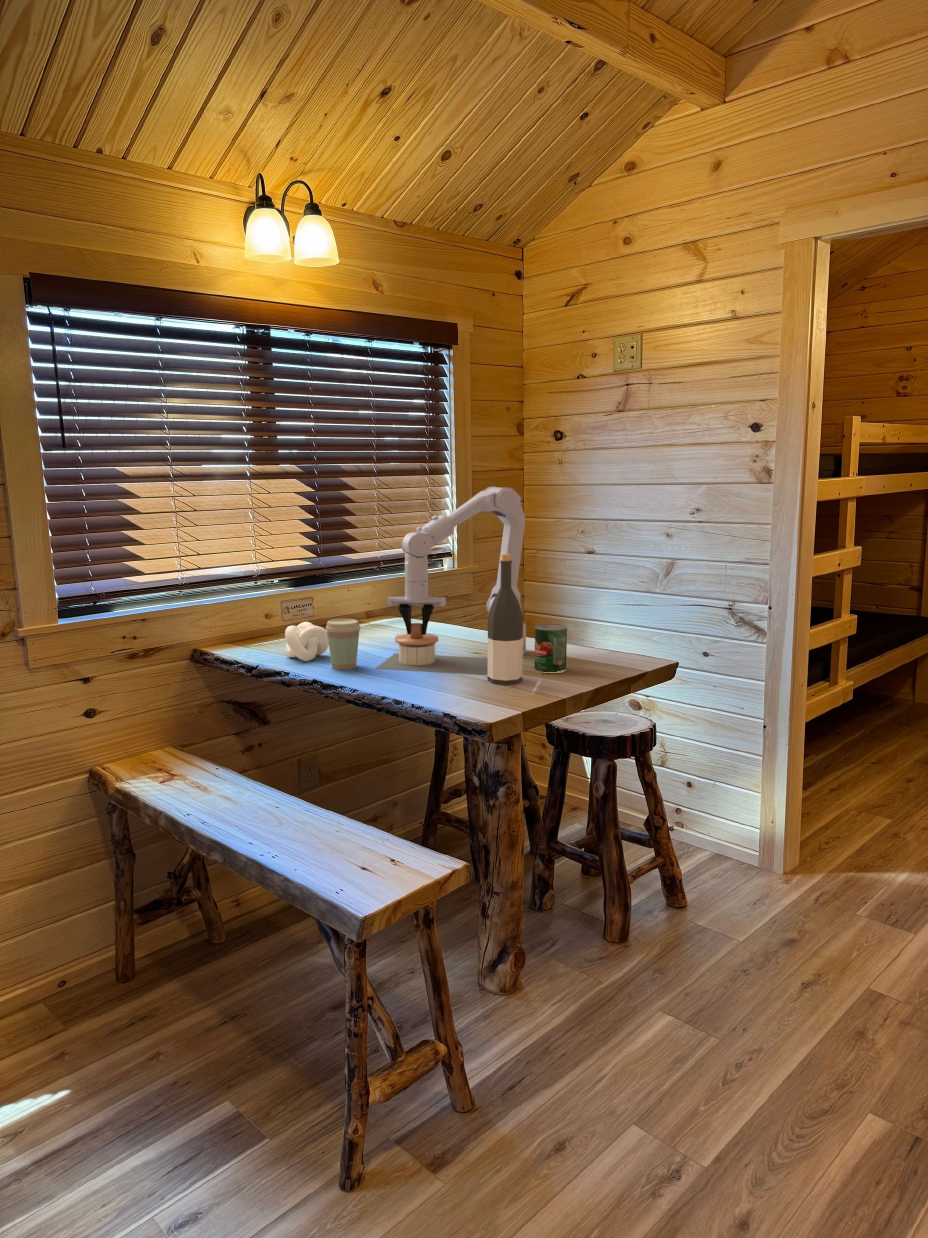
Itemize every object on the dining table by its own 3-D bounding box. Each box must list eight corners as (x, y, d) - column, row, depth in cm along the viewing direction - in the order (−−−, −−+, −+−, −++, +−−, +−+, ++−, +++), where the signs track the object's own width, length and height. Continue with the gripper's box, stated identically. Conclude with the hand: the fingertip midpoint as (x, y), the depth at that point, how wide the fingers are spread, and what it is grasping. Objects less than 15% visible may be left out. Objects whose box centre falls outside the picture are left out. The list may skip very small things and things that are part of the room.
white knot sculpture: (313, 665, 211) (312, 630, 210) (272, 661, 215) (270, 627, 213) (334, 655, 222) (333, 622, 220) (294, 652, 226) (293, 619, 224)
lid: (447, 639, 214) (447, 623, 213) (419, 647, 205) (419, 630, 204) (414, 634, 220) (414, 618, 220) (385, 641, 212) (385, 624, 211)
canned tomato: (571, 668, 208) (572, 625, 206) (558, 675, 202) (559, 630, 200) (542, 664, 212) (543, 622, 210) (528, 671, 206) (529, 627, 204)
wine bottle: (480, 682, 196) (480, 554, 190) (503, 676, 201) (505, 551, 195) (505, 689, 190) (507, 557, 184) (529, 682, 195) (531, 554, 190)
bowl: (438, 657, 217) (438, 640, 217) (429, 666, 209) (429, 648, 208) (405, 656, 219) (404, 639, 218) (395, 664, 211) (394, 646, 210)
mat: (499, 660, 217) (499, 658, 217) (486, 676, 200) (486, 674, 200) (395, 655, 223) (394, 653, 222) (374, 670, 206) (374, 668, 206)
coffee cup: (366, 666, 211) (365, 619, 209) (353, 674, 203) (352, 625, 200) (335, 663, 213) (334, 617, 211) (320, 671, 205) (319, 623, 203)
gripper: (447, 579, 213) (447, 631, 216) (391, 577, 215) (392, 629, 218) (443, 583, 206) (443, 637, 209) (385, 581, 208) (386, 635, 211)
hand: (416, 633), depth 213 cm, fingers closed on lid, 3 cm apart
